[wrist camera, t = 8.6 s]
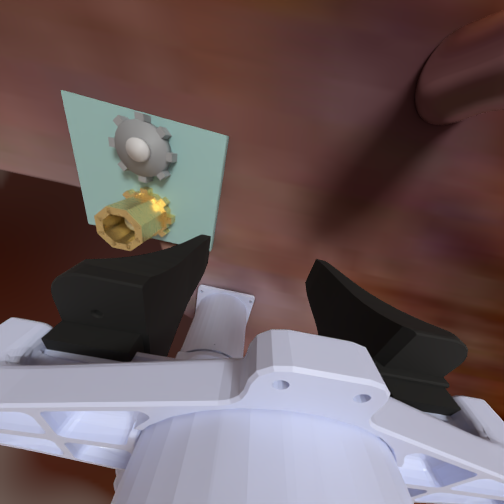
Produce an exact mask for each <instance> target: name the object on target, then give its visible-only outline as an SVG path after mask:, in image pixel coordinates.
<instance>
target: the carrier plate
mask: <svg viewBox="0 0 504 504" xmlns="http://www.w3.org/2000/svg"><path fill="white" fill-rule="evenodd" d="M61 94H62V99H63V103H64V108H65V113H66V118H67V122H68V127H69V132H70V137H71V142H72V146H73V151H74V156H75V161H76V165H77V170H78V175H79V180H80V185H81V189H82V194H83V199H84V204H85V208H86V213H87V218H88V223H89V224H92V225H96V223H95V218H94V216H95V215H96V214H97V213H98V212H99V211H101V210H102V209H103V208H104V207H105V206H107V205H110V204H113V203H116V202H118V201H121V200H124V199H126V198H125V197H124V196H123V195H122V194H123V193H124V192H126V191H127V190H131V189H134V191H135V192H136V191H139V190H140V188H142V187H150V188H153V193H155V194H158V195H159V196H160V197H161V198H164V197H166V198H167V199H168V200H169V201H170V203H169V204H168V207H169V208H170V209H171V214H172V215H175V222H174V223H173V224H171V225H170V226H169V227H168V229H169V230H170V231H169V232H168V233H167V234H166V235H165V236H163V237H161V236H160V235H159V234H157V235H156V236H153V237H152V238H154V239H158V240H162V241H167V242H171V243H176V244H181V243H183V242H186V241H188V240H190V239H192V238H194V237H196V236H199V235H201V234H203V235H207V236H211V241H210V249H209V251H211V249H212V247H213V240H214V234H215V227H216V220H217V214H218V207H219V200H220V194H221V187H222V180H223V174H224V167H225V160H226V154H227V147H228V140H229V136H226V135H222V134H219V133H215V132H211V131H208V130H204V129H201V128H197V127H193V126H190V125H186V124H182V123H179V122H175V121H172V120H168V119H164V118H161V117H157V116H154V115H150V114H146V113H143V112H139V111H135V110H132V109H128V108H125V107H121V106H117V105H114V104H110V103H107V102H103V101H99V100H96V99H92V98H89V97H85V96H81V95H78V94H74V93H70V92H67V91H63V90H61ZM125 224H126V225H127V227H128V228H130V229H131V230H134V227H133V226H132V225H131V224H130V223H129V222H128V221H127V220H126V219H125Z"/></svg>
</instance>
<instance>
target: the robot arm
mask: <svg viewBox="0 0 504 504" xmlns="http://www.w3.org/2000/svg"><path fill="white" fill-rule="evenodd" d="M210 241H211V236H207V235H203V234H201V235H199V236H196V237H194V238H192V239H190V240H188V241H186V242H183V243H181V244H178V245H176V246H173V247H171V248H168V249H164V250H161V251H157V252H153V253H148V254H143V255H138V256H131V257H122V258H112V259H111V258H110V259H85V260H84V261H82V262H81V263H79V264H77V265H76V266H74V267H72V268H71V269H69V270H67V271H66V272H64V273H63V274H61V275H59V276H58V277H56V279H55V280H54V281H53V282H52V286H51V293H52V297H53V300H54V302H55V304H56V306H57V309H58V311H59V314H60V316H61V319H62V321H61V322H60V323H59V324H57V325H56V326H55V327H54V328H53V327H52V326H50V325H49V324H46V323H43V322H37V321H32V320H27V319H21V318H10V319H8V320H7V321H5V322H4V323H2V324H1V325H0V445H4V446H10V447H16V448H21V449H25V450H30V451H36V452H41V453H45V454H49V455H54V456H59V457H63V458H68V459H72V460H77V461H82V462H86V463H91V464H96V465H100V466H105V467H109V468H114V469H116V475H117V476H116V479H115V481H114V489H115V495H114V497H113V500H112V502H111V504H414V503H413V502H419V503H440V504H441V503H442V504H504V422H503V421H502V419H501V418H500V417H499V416H498V415H497V414H496V413H495V412H494V411H493V409H492V408H491V407H490V406H489V405H488V404H487V403H486V402H485V400H482V399H479V398H473V397H467V396H461V395H456V396H452V397H451V395H450V394H449V393H448V391H447V390H446V389H445V388H448V387H449V383H448V382H447V381H446V380H445V379H444V376H445V375H447V374H448V373H449V372H451V371H452V370H454V369H455V368H456V367H458V366H459V365H460V364H461V363H462V362H463V361H464V360H465V359H466V357H467V352H468V349H467V347H466V345H465V344H464V343H463V342H462V341H461V340H460V339H459V338H458V337H456V336H455V335H454V334H452V333H451V332H449V331H446V330H444V329H441V328H439V327H436V326H434V325H431V324H429V323H426V322H424V321H421V320H419V319H417V318H415V317H413V316H410V315H408V314H406V313H404V312H402V311H400V310H398V309H396V308H394V307H392V306H390V305H388V304H387V303H385V302H383V301H381V300H380V299H378V298H376V297H375V296H373V295H371V294H370V293H368V292H367V291H365V290H364V289H362V288H361V287H359V286H358V285H357V284H355V283H354V282H352V281H351V280H350V279H349V278H347V277H346V276H345V275H343V274H342V273H341V272H340V271H338V270H337V269H336V268H334V267H333V266H332V265H330V264H329V263H327V262H326V261H322V260H318V259H316V261H315V263H314V265H313V267H312V269H311V271H310V274H309V276H308V278H307V280H306V282H305V283H306V291H307V296H308V300H309V303H310V307H311V310H312V313H313V316H314V319H315V323H316V326H317V330H318V335H314V334H309V333H304V332H298V331H293V330H288V329H271V330H268V331H265V332H263V333H260V334H258V335H257V336H256V337H255V338H254V339H253V341H252V342H251V343H250V345H249V348H248V350H247V353H246V355H245V357H244V358H243V351H244V340H245V328H246V324H247V321H248V318H249V315H250V312H251V309H252V306H253V303H254V299H255V297H254V296H253V295H249V294H244V293H239V292H235V291H230V290H225V289H220V288H216V287H211V286H206V285H200V286H199V288H198V294H197V302H196V310H195V316H194V319H193V321H192V324H191V326H190V329H189V331H188V334H187V336H186V338H185V341H184V343H183V346H182V348H181V351H180V352H178V353H177V356H176V358H170V357H167V355H168V352H169V350H170V347H171V344H172V342H173V339H174V336H175V334H176V331H177V328H178V326H179V323H180V321H181V318H182V316H183V313H184V311H185V309H186V306H187V304H188V302H189V300H190V298H191V296H192V294H193V292H194V291H195V289H196V287H197V285H198V283H199V282H200V280H201V278H202V276H203V274H204V272H205V269H206V266H207V263H208V257H209V249H210ZM201 290H202V291H201Z"/></svg>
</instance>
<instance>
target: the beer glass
mask: <svg viewBox="0 0 504 504" xmlns="http://www.w3.org/2000/svg"><path fill="white" fill-rule="evenodd" d="M415 103H416V108H417V111H418V113H419V115H420V116H421V117H422V119H423V120H425V121H426V122H428V123H430V124H434V125H447V124H451V123H455V122H458V121H461V120H464V119H467V118H469V117H472V116H475V115H478V114H481V113H486V112H491V111H499V110H504V9H503V10H501V11H499V12H497V13H494V14H492V15H489V16H486V17H484V18H481V19H478V20H476V21H473V22H471V23H468V24H466V25H464V26H462V27H461V28H459V29H457V30H456V31H454V32H453V33H452V34H450V35H449V36H448V37H447V38H446V39H445V40H444V41H443V42H442V43H441V44H440V45H439V46H438V47H437V48H436V49H435V50H434V52H433V53H432V54H431V56H430V57H429V59H428V60H427V62H426V64H425V65H424V67H423V69H422V71H421V74H420V76H419V79H418V82H417V87H416V93H415Z"/></svg>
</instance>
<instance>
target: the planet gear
mask: <svg viewBox="0 0 504 504" xmlns="http://www.w3.org/2000/svg"><path fill="white" fill-rule="evenodd" d="M122 195H123V196H124V197H125V198H126V199H124V200H121V201H118V202H116V203H113V204H110V205H107V206H105V207H104V208H103V209H102V210H101V211H99V212H98V213H97V214H96V215H95V216H94V218H95V223H96V228H97V233H98V234H99V235H100V236H101V237H102V238H103V239H104V240H105V241H107V243H109V244H110V245H111V246H112V247H114V248H119V249H123V250H128V251H131V250H133V249H134V248H136V247H137V246H139V245H140V244H142V243H143V242H145V241H146V240H147V239H150V238H152V237H153V236H156V235H157V234H159V235H160V236H161V237H163V236H165V235H166V234H167V233H168V232H169V231H170V230H169V229H168V227H169V226H170V225H171V224H173V223H174V222H175V215H172V214H171V209H170V208H169V207H168V204H169V203H170V201H169V200H168V199H167V198H166V197H164V198H161V197H160V196H159V195H158V194H155V193H153V188H150V187H142V188H140V190H139V191H136V192H135V191H134V189H131V190H127V191H126V192H124V193H123V194H122ZM125 219H126V220H127V221H128V222H129V223H130V224H131V225H132V226H133V227H134V230H131V229H130V228H128V227H127V225H126V224H125Z"/></svg>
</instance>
